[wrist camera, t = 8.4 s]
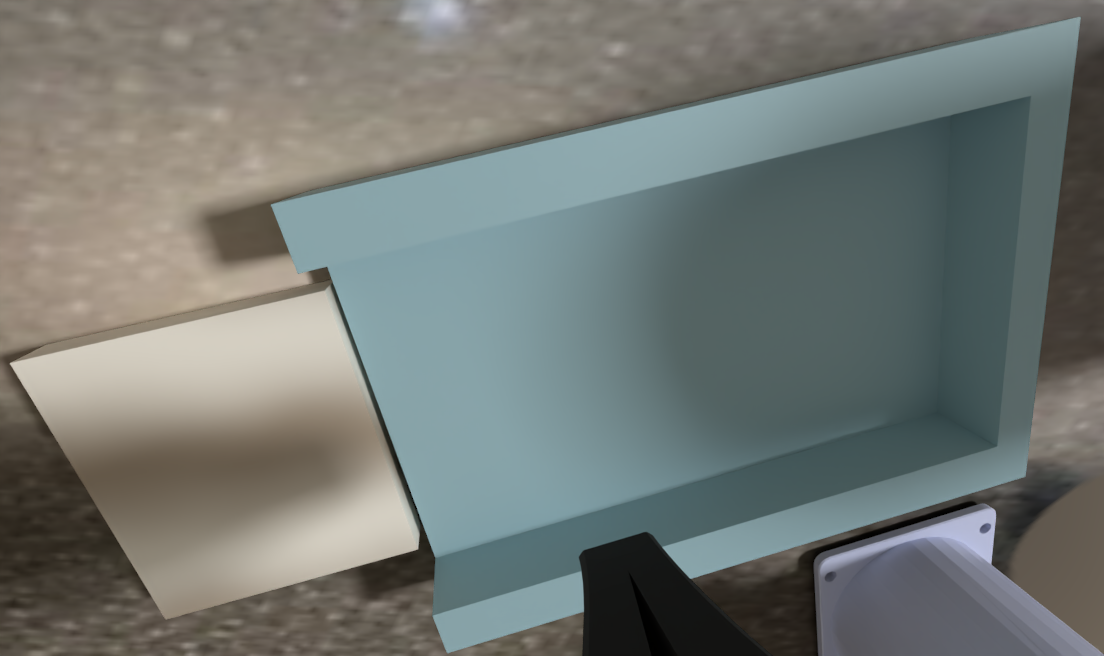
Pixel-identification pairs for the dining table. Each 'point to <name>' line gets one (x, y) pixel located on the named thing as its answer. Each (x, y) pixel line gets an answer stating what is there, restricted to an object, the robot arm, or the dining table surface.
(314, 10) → the dining table surface
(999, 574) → the robot arm
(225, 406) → the cover plate
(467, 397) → the teal box
